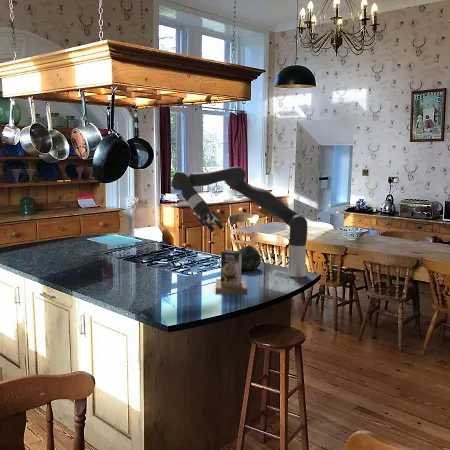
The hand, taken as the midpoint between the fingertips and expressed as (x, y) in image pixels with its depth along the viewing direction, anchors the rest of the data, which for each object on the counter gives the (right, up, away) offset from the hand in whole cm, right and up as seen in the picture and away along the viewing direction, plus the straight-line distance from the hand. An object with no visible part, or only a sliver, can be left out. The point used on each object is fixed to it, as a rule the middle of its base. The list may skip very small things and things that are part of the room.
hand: (217, 229), depth 250 cm
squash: (+17, -23, +41) cm, 50 cm away
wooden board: (+7, -29, 0) cm, 30 cm away
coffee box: (+7, -27, 0) cm, 27 cm away
